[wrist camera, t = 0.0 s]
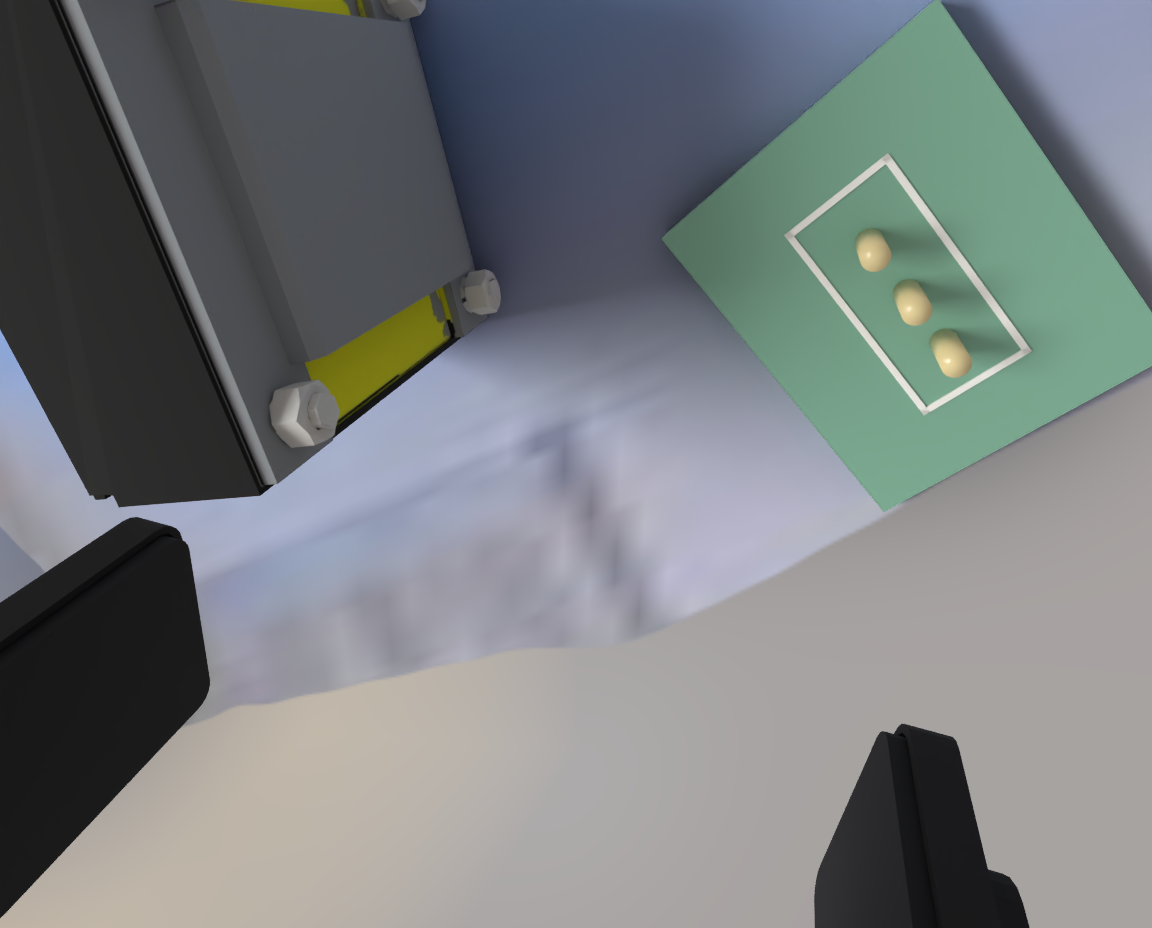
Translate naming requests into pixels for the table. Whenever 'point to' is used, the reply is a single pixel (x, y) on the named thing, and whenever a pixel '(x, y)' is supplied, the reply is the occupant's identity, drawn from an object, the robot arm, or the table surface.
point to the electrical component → (221, 232)
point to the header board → (916, 268)
